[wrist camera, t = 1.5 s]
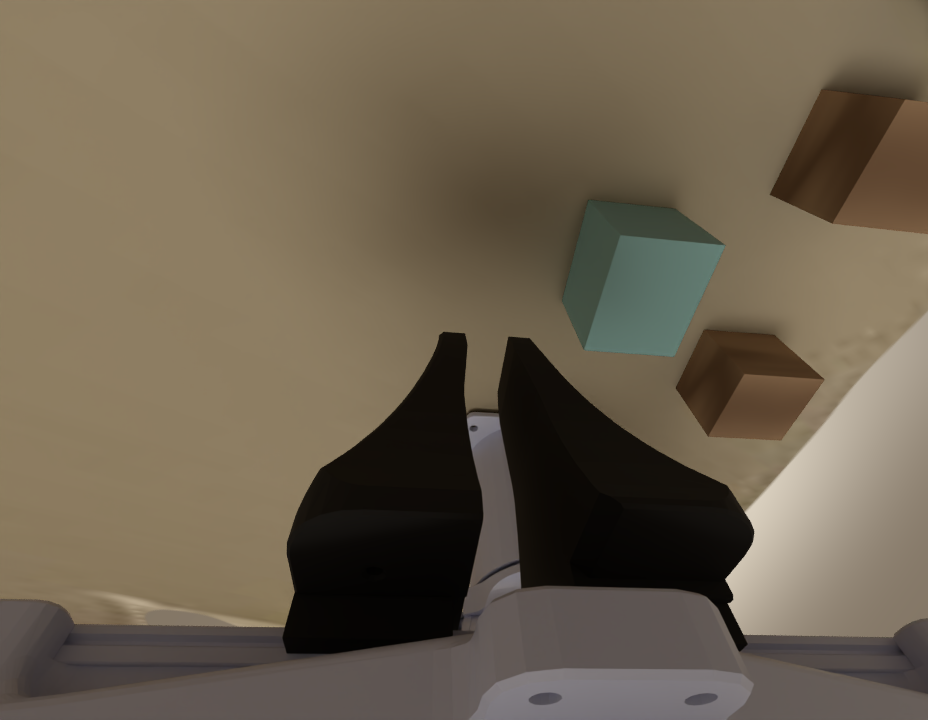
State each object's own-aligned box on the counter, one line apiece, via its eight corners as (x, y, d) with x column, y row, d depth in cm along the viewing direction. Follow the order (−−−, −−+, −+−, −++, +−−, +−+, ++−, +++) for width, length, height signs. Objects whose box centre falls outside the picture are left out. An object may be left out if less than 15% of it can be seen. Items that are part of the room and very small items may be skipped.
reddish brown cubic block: (739, 391, 26) (780, 440, 23) (675, 387, 26) (708, 436, 23) (773, 334, 24) (824, 379, 21) (703, 329, 24) (744, 374, 20)
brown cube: (851, 203, 20) (930, 234, 17) (768, 194, 20) (832, 223, 16) (912, 102, 18) (1016, 114, 15) (819, 89, 17) (905, 99, 14)
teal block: (637, 306, 23) (673, 356, 19) (561, 300, 22) (583, 350, 19) (674, 208, 20) (725, 245, 16) (587, 199, 20) (620, 235, 16)
